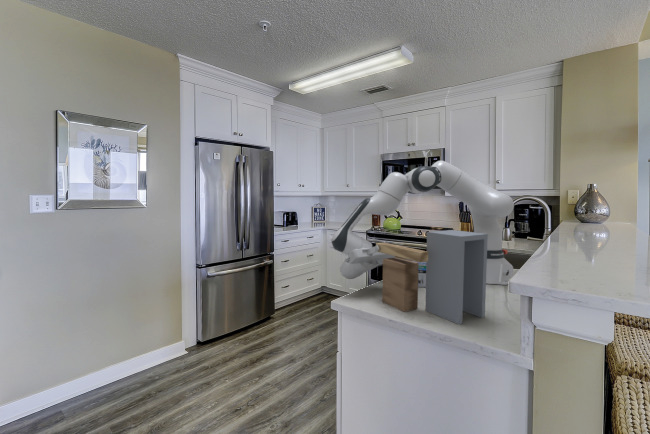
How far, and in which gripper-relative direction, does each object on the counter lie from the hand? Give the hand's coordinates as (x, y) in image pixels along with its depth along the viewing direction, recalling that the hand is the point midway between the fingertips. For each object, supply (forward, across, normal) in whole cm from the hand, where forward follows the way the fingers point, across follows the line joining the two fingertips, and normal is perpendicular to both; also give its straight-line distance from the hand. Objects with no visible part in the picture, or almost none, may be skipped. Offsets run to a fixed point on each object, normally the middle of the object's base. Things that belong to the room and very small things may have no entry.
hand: (384, 246), depth 116 cm
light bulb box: (-16, +26, +13) cm, 33 cm away
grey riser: (+10, +10, +28) cm, 31 cm away
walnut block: (-2, 0, +21) cm, 21 cm away
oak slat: (+6, 0, +6) cm, 8 cm away
